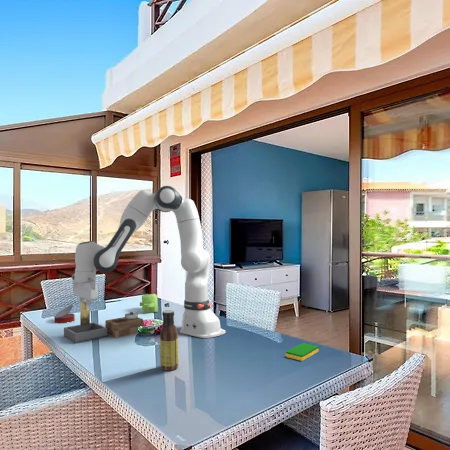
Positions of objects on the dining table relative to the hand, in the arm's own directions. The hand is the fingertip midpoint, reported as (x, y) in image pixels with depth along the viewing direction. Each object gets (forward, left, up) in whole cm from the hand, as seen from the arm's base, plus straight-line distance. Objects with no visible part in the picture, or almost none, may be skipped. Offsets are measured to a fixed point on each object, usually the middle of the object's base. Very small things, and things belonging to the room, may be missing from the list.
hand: (85, 307), depth 163 cm
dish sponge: (-80, -53, -14) cm, 97 cm away
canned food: (+36, -3, -14) cm, 38 cm away
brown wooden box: (-6, -16, -13) cm, 22 cm away
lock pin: (0, 0, -8) cm, 8 cm away
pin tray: (0, 0, -13) cm, 13 cm away
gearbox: (+27, -48, -13) cm, 57 cm away
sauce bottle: (-57, -7, -13) cm, 59 cm away
